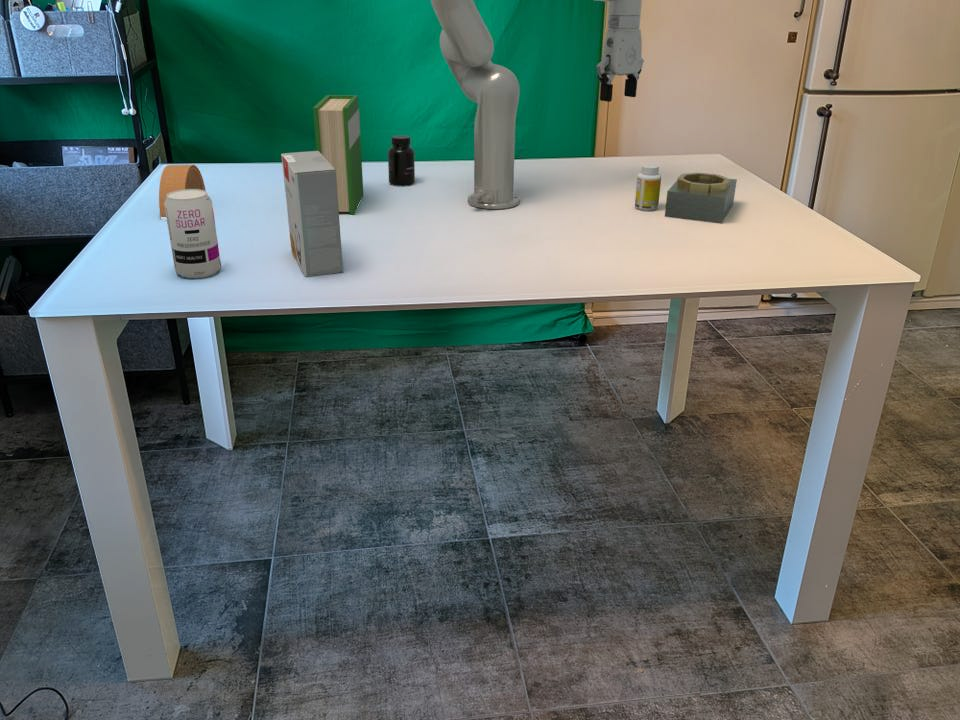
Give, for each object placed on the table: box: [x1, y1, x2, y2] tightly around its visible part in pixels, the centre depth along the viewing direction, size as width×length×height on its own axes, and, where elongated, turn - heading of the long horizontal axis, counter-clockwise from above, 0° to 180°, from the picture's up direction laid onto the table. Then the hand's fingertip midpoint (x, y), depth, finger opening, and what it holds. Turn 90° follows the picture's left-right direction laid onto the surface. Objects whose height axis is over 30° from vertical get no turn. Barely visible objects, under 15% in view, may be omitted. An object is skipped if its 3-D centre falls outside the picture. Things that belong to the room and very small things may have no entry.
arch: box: [158, 164, 207, 218], centre depth 191 cm, size 6×20×10 cm, turn 3°
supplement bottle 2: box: [634, 163, 662, 212], centre depth 194 cm, size 6×6×10 cm
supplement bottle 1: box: [387, 134, 416, 187], centre depth 212 cm, size 7×7×12 cm
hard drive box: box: [280, 150, 344, 278], centre depth 156 cm, size 16×8×20 cm, turn 21°
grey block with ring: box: [664, 172, 738, 225], centre depth 195 cm, size 22×13×8 cm, turn 157°
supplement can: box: [164, 189, 222, 280], centre depth 151 cm, size 8×8×15 cm
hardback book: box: [312, 94, 364, 216], centre depth 191 cm, size 18×7×24 cm, turn 0°
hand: (618, 98), depth 200 cm, fingers open, 9 cm apart
